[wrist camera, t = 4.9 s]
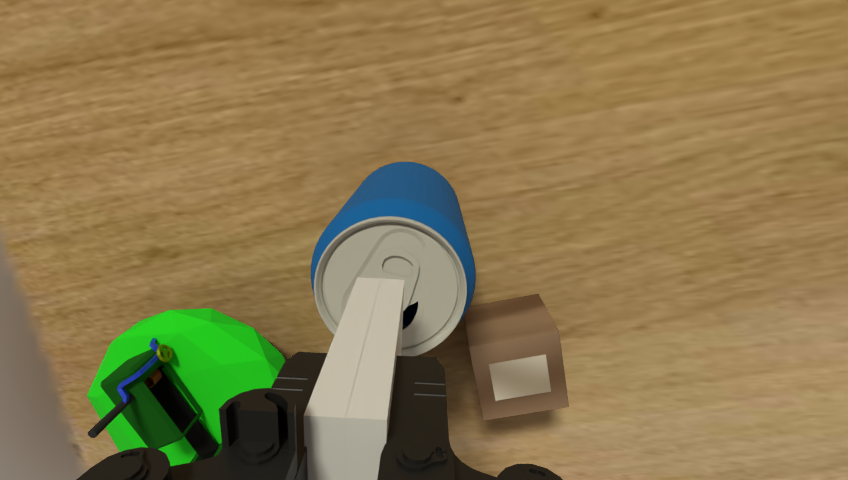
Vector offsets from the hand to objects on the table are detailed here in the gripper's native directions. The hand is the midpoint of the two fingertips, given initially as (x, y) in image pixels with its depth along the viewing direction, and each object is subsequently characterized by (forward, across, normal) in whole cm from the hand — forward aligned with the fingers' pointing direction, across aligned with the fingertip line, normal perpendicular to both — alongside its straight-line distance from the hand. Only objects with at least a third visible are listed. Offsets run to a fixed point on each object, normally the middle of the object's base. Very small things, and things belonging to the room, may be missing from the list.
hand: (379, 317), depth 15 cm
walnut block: (+14, +7, -8) cm, 18 cm away
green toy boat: (+14, -11, -11) cm, 21 cm away
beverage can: (+14, 0, 0) cm, 14 cm away
